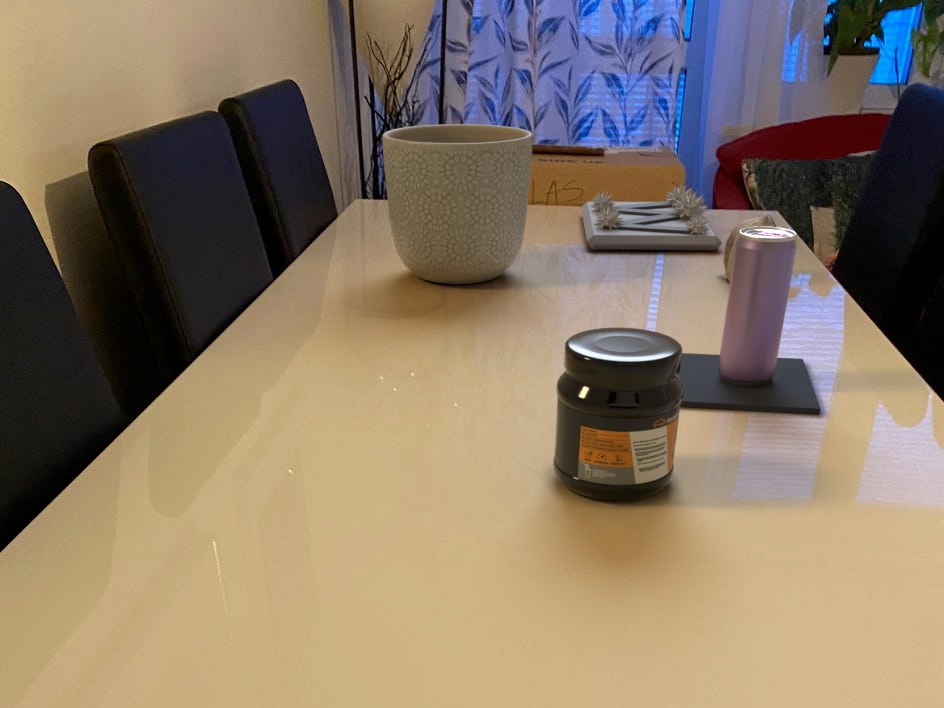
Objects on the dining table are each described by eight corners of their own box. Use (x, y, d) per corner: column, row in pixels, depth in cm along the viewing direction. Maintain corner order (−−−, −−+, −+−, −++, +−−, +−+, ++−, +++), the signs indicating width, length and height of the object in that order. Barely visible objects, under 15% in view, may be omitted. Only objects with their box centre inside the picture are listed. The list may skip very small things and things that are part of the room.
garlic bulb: (743, 289, 149) (759, 219, 146) (787, 292, 142) (805, 218, 140) (699, 277, 144) (716, 204, 141) (743, 279, 137) (761, 202, 134)
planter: (361, 272, 149) (353, 131, 138) (470, 252, 159) (470, 120, 149) (443, 301, 135) (441, 148, 125) (557, 278, 146) (563, 134, 135)
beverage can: (763, 391, 104) (789, 241, 95) (708, 382, 106) (729, 234, 98) (780, 375, 108) (806, 229, 99) (727, 366, 110) (748, 223, 102)
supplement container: (665, 511, 82) (682, 369, 75) (540, 497, 84) (546, 358, 77) (677, 462, 90) (694, 330, 84) (564, 450, 93) (571, 320, 86)
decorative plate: (580, 215, 184) (582, 173, 180) (696, 216, 183) (701, 174, 179) (586, 252, 159) (589, 204, 156) (721, 253, 158) (727, 205, 154)
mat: (802, 363, 113) (803, 358, 113) (819, 414, 100) (820, 408, 100) (677, 357, 115) (678, 352, 115) (678, 406, 102) (679, 401, 102)
